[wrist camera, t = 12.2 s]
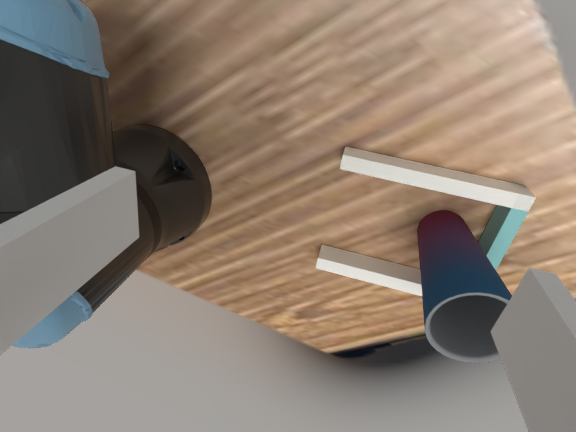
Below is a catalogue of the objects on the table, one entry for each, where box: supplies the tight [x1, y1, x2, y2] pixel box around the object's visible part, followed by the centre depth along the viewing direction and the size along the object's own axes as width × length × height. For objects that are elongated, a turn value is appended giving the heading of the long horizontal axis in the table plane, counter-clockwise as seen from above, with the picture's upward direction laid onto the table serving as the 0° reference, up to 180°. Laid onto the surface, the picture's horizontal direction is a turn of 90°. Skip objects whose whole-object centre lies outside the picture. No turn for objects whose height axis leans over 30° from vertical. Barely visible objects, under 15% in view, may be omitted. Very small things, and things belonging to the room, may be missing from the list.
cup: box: [417, 211, 512, 363], centre depth 32 cm, size 7×7×15 cm
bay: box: [316, 146, 536, 296], centre depth 38 cm, size 18×14×3 cm
